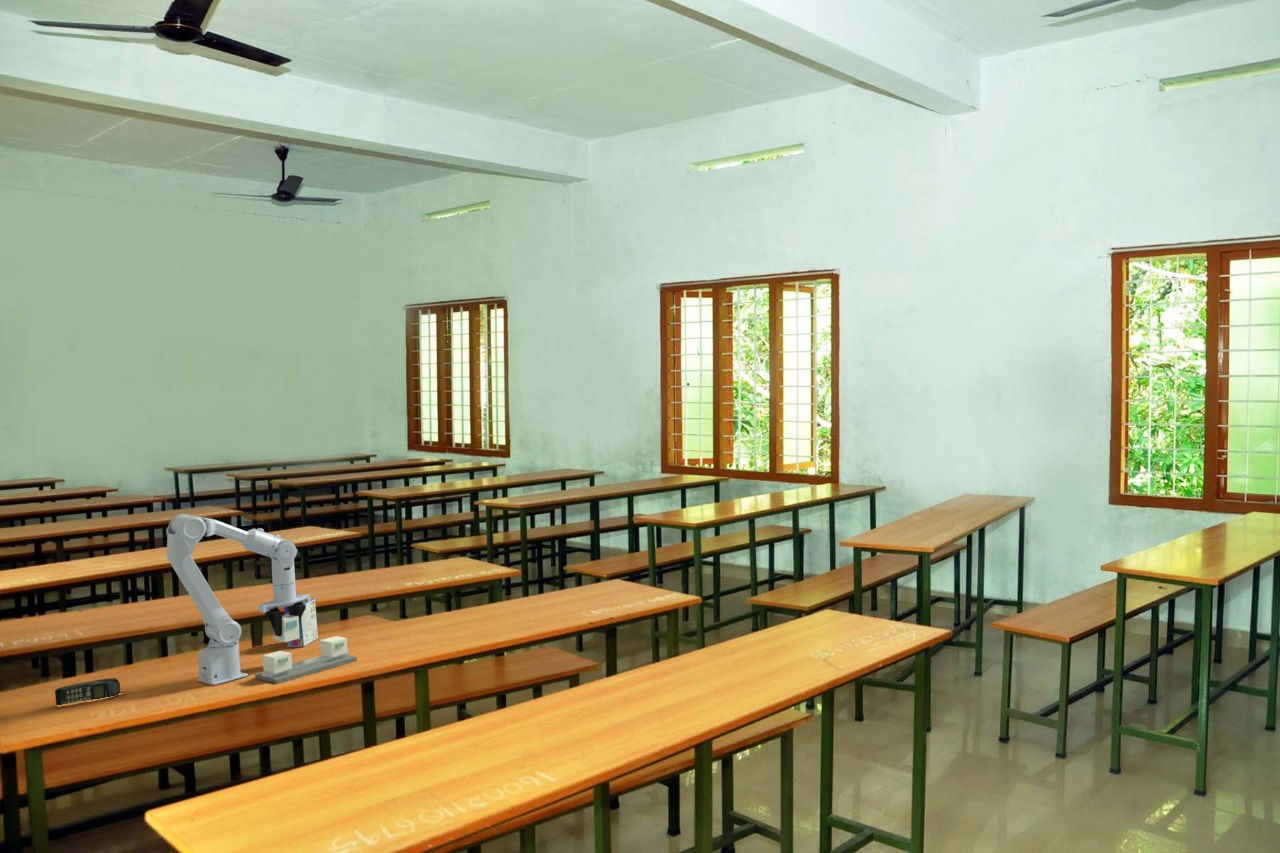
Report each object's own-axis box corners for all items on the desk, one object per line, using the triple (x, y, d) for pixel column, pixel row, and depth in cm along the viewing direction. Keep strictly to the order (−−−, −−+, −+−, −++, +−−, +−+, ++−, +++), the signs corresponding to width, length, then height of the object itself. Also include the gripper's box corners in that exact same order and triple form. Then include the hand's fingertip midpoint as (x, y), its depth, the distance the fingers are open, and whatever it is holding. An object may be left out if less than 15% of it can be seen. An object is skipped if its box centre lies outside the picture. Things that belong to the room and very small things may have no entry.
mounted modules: (275, 673, 247) (274, 658, 247) (263, 670, 250) (262, 655, 250) (348, 653, 264) (347, 638, 264) (336, 650, 268) (335, 636, 268)
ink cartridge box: (300, 638, 291) (298, 590, 291) (318, 638, 291) (316, 590, 290) (285, 647, 281) (282, 597, 281) (304, 647, 281) (301, 597, 280)
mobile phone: (54, 690, 231) (125, 676, 239) (54, 687, 234) (124, 673, 242) (56, 710, 232) (127, 696, 240) (56, 707, 234) (126, 693, 242)
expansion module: (285, 642, 259) (284, 620, 259) (274, 640, 262) (272, 617, 262) (300, 638, 263) (299, 616, 262) (288, 636, 266) (287, 614, 266)
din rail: (269, 678, 247) (269, 674, 247) (262, 676, 249) (261, 672, 249) (349, 655, 266) (349, 651, 266) (341, 653, 268) (341, 649, 268)
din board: (277, 683, 245) (277, 679, 245) (255, 678, 251) (254, 674, 251) (356, 660, 264) (356, 656, 264) (334, 655, 270) (334, 652, 270)
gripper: (298, 577, 270) (301, 625, 271) (250, 587, 258) (253, 637, 259) (314, 579, 266) (316, 628, 266) (266, 589, 254) (269, 641, 255)
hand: (286, 633), depth 262 cm, fingers closed on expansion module, 4 cm apart
